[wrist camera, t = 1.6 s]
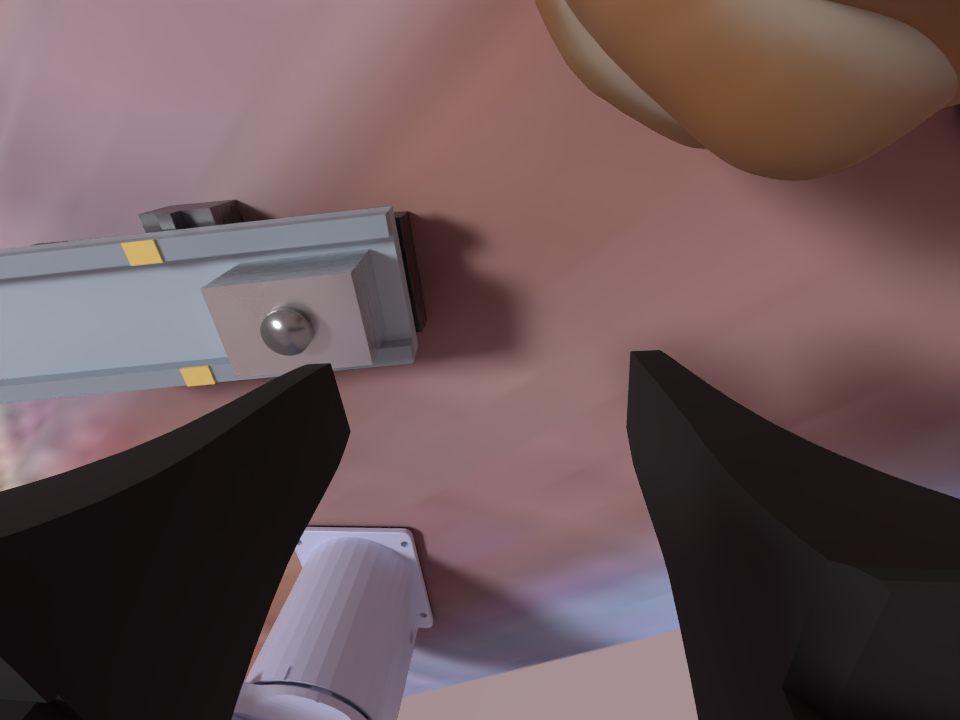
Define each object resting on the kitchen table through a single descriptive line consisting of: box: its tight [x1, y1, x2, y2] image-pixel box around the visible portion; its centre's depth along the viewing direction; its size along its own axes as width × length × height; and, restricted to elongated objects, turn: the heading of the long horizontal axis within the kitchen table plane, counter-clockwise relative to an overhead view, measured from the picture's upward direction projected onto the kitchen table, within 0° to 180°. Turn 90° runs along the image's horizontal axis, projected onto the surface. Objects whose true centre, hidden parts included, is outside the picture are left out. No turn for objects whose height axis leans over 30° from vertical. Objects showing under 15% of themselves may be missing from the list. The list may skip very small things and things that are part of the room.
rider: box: [200, 249, 387, 378], centre depth 17 cm, size 3×5×4 cm
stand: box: [31, 200, 427, 332], centre depth 21 cm, size 7×18×2 cm, turn 96°
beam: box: [0, 206, 418, 403], centre depth 19 cm, size 6×18×2 cm, turn 96°
